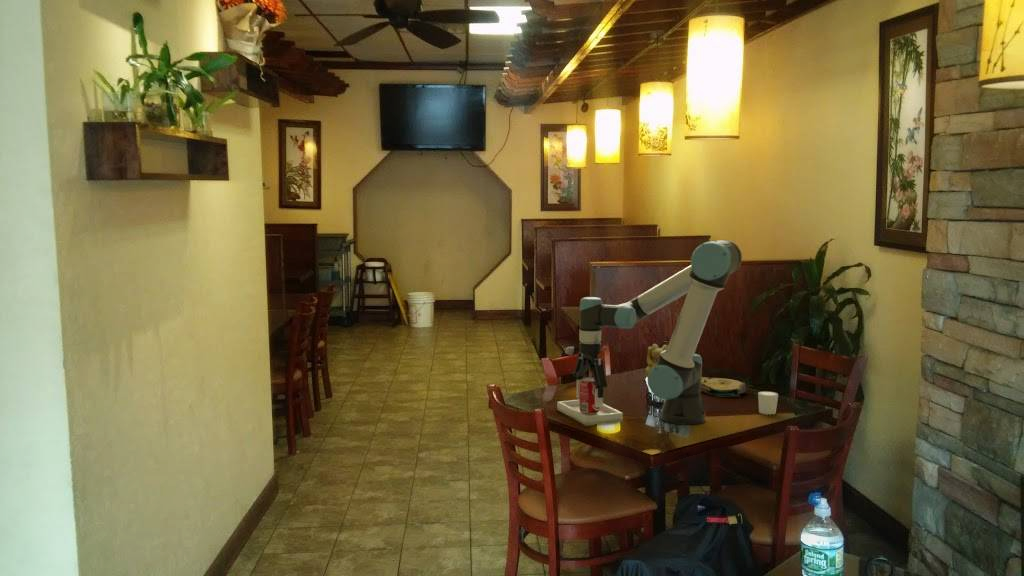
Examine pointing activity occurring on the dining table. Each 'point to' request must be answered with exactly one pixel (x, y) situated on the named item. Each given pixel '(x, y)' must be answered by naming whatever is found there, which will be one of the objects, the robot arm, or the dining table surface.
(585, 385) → the soda can
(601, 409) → the bussing tray
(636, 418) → the dining table surface
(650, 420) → the dining table surface
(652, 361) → the decorative figurine
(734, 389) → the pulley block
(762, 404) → the white cup
